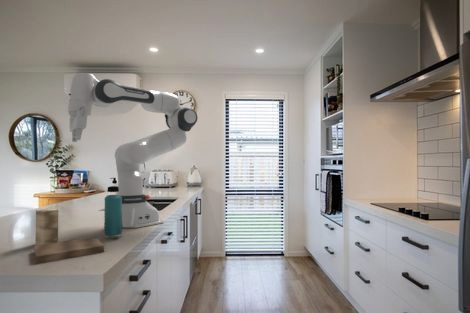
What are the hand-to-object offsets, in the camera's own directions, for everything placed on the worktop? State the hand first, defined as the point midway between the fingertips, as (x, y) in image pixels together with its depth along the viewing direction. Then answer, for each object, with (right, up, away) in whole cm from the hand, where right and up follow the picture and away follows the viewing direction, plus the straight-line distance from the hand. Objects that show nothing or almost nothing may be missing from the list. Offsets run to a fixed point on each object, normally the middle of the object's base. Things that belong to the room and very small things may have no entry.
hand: (76, 140), depth 121 cm
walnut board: (+14, -38, -30) cm, 50 cm away
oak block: (0, -38, -19) cm, 43 cm away
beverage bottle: (+21, -39, -12) cm, 45 cm away
